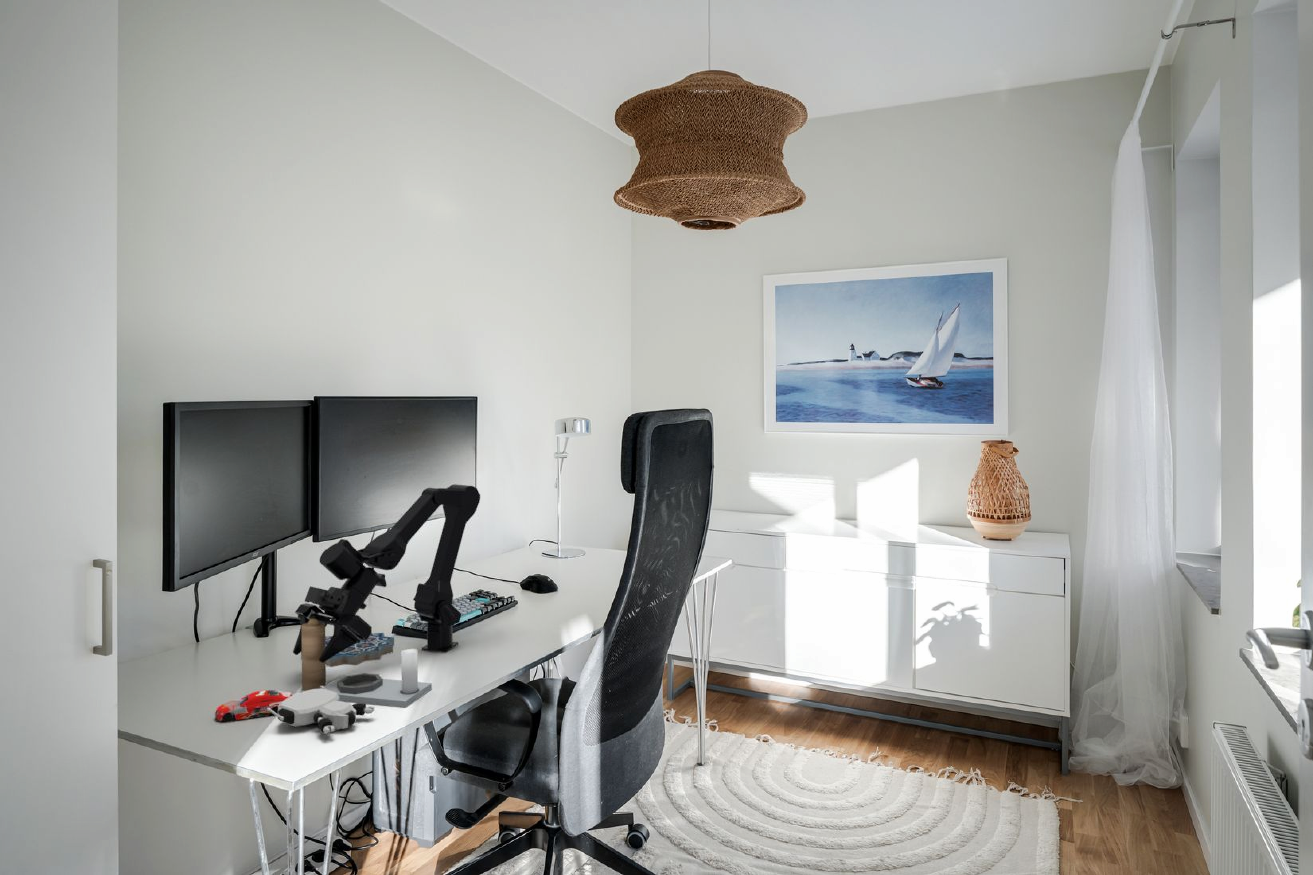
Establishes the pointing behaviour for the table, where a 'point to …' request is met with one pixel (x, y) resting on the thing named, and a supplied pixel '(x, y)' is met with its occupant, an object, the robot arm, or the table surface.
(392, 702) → the plate
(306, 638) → the brown tall cylinder
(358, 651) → the decorative tile
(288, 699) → the robot toy
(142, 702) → the table surface
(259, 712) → the race car
